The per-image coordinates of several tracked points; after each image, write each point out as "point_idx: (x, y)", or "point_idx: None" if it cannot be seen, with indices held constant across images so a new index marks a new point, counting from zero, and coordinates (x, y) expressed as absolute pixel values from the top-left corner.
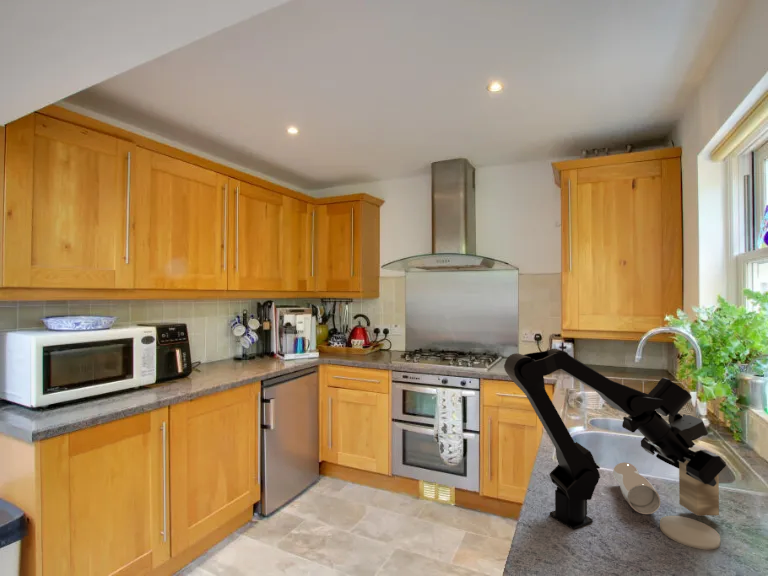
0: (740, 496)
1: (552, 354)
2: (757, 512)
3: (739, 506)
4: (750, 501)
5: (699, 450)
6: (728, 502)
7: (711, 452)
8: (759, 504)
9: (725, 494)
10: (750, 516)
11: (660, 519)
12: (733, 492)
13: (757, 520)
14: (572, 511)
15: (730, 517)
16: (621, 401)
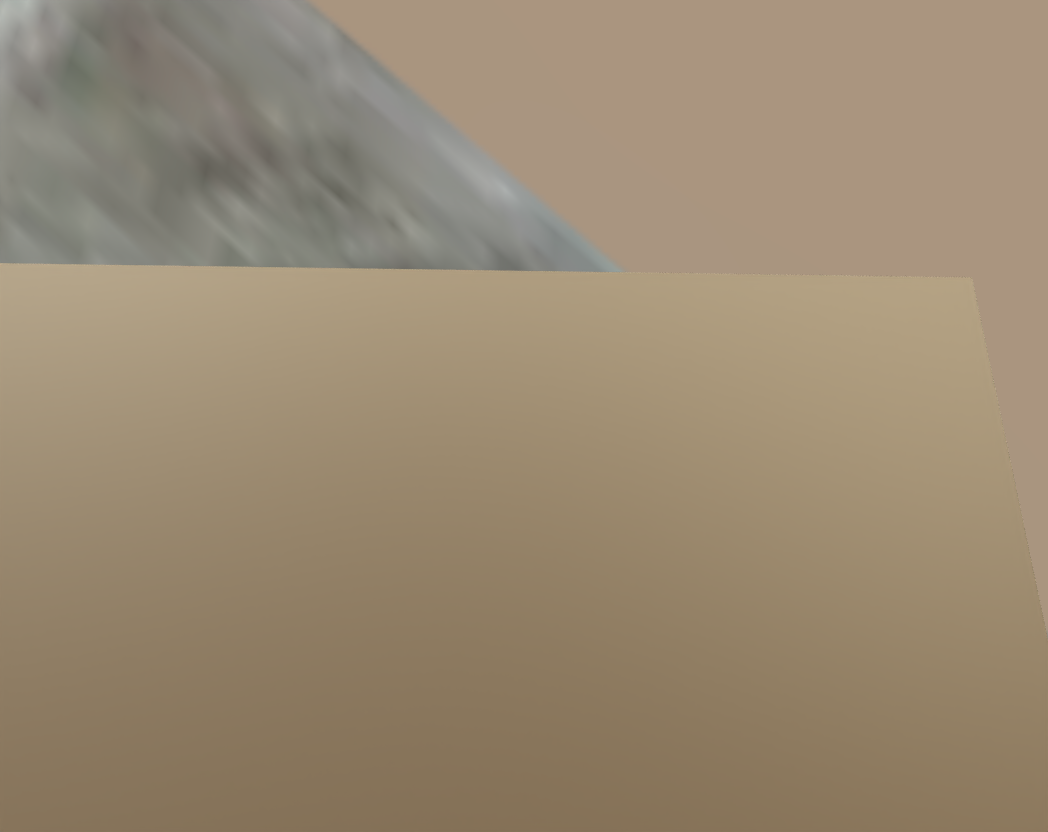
0: (161, 52)
1: None
2: (444, 150)
3: (325, 208)
4: (259, 48)
5: (40, 823)
6: (239, 241)
7: (478, 276)
8: (318, 25)
9: (96, 142)
10: (507, 265)
11: None
12: (81, 48)
13: (578, 266)
14: None
15: None
16: None
